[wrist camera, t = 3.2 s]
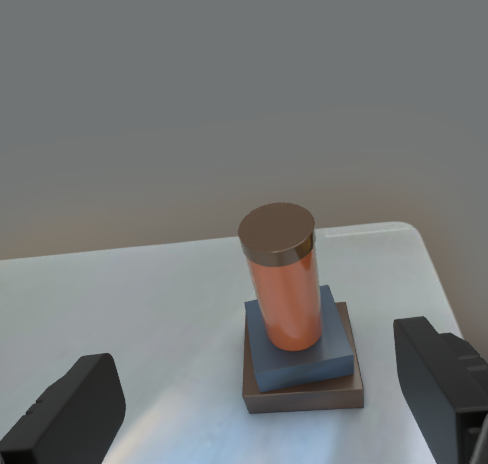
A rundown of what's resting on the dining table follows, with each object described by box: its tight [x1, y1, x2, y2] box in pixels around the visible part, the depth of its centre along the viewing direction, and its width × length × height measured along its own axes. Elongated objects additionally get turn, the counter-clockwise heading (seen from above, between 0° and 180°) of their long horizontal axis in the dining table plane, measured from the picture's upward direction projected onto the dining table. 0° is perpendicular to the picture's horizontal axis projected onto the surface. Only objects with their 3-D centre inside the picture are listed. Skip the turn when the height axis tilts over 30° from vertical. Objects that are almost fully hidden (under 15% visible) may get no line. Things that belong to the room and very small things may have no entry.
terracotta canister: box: [238, 203, 324, 351], centre depth 30 cm, size 5×5×11 cm
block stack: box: [242, 285, 364, 413], centre depth 36 cm, size 10×9×6 cm
